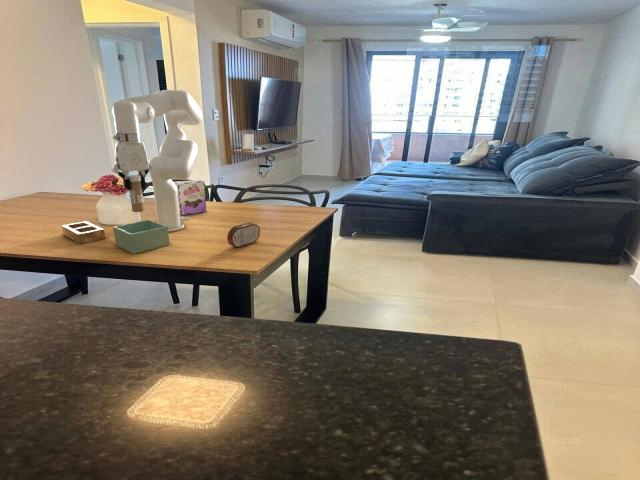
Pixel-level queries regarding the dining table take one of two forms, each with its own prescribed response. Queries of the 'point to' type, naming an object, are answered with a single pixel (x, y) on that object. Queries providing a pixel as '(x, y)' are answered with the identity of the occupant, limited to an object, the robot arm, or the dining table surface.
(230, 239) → the tin
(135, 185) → the sprinkles bottle
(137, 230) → the basin
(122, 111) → the robot arm
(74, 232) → the rack
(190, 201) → the candy box
